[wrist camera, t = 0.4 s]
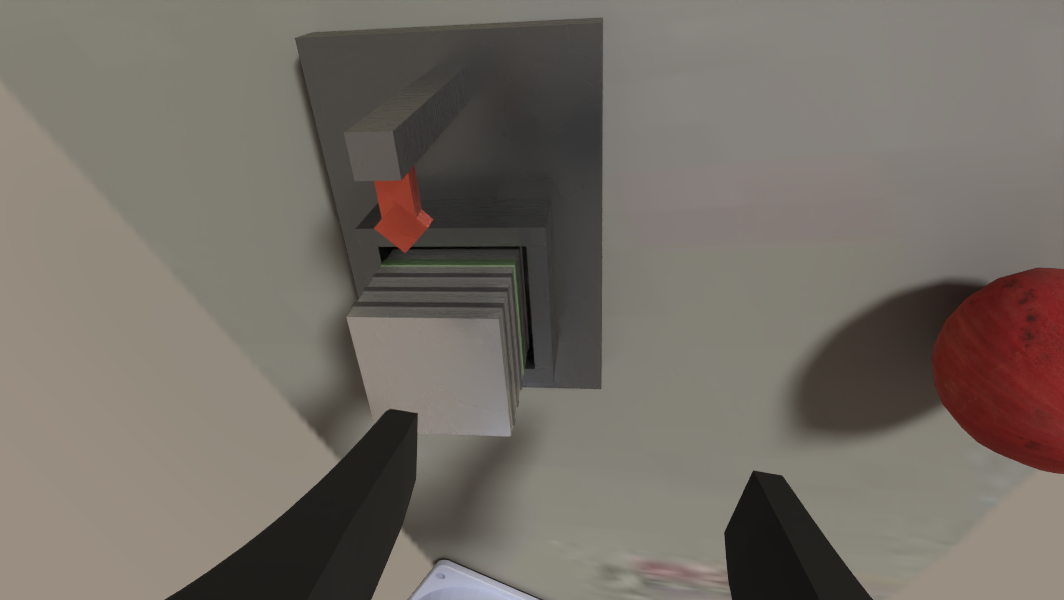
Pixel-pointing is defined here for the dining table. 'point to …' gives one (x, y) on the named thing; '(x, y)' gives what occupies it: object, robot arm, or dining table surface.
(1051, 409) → the onion
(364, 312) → the column
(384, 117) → the jack base
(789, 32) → the dining table surface
